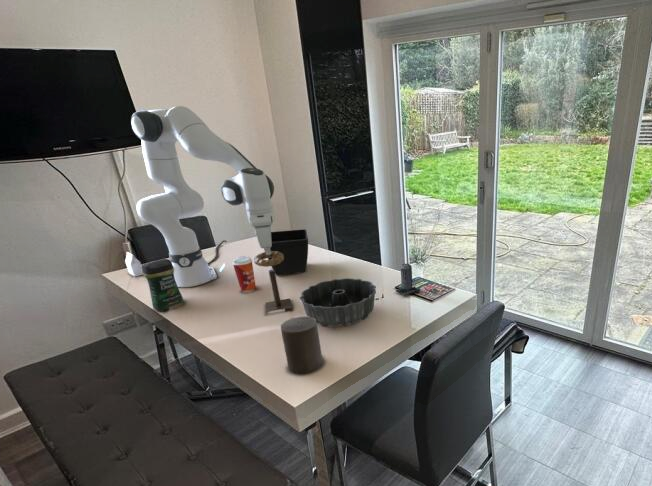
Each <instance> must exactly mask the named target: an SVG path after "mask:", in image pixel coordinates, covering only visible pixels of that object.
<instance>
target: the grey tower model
mask: <svg viewBox="0 0 652 486" xmlns="http://www.w3.org/2000/svg"><path fill="white" fill-rule="evenodd" d="M412 268H413V267H412V265H411V264H410V263H403V264H401V266H400V278H401V280H400V282H401V283H400V284H401V288H398V289H395V292H396V293H397V294H399V295H401V296H403V297H408V296H409V295H411V294H412V295H414V294H417V293H420V291H421V288H417V287H416V286H413V269H412Z"/></svg>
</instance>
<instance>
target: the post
mask: <svg viewBox="0 0 652 486" xmlns="http://www.w3.org/2000/svg"><path fill="white" fill-rule="evenodd" d="M268 275H269V280H270V286H271V289H272V290H271V291H272V295H273V300H271V301H266V302H265V313H269V312H275V311H281V310H284V312H291V311H293V307H292V301H291V298H284V299H281V297H280V292H279V286H278V281H277V275H276V274H275V270H273V269H269V270H268Z"/></svg>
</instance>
